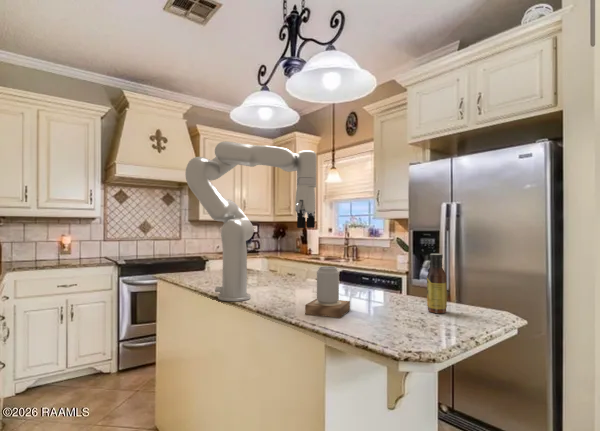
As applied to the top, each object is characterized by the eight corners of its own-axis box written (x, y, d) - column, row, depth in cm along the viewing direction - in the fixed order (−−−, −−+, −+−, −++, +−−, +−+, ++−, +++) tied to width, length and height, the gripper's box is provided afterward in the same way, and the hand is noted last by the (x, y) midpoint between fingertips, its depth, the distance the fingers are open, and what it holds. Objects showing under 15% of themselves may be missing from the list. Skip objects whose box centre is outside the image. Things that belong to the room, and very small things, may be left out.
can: (337, 305, 121) (337, 268, 121) (314, 304, 122) (315, 267, 123) (339, 300, 128) (339, 266, 128) (318, 299, 130) (318, 265, 130)
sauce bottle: (432, 309, 130) (432, 252, 131) (449, 312, 126) (449, 253, 126) (423, 312, 126) (423, 253, 126) (441, 315, 121) (441, 254, 122)
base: (305, 314, 122) (305, 304, 122) (317, 306, 133) (317, 297, 133) (340, 317, 117) (340, 307, 117) (349, 309, 128) (349, 300, 128)
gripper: (305, 185, 152) (305, 227, 151) (288, 181, 136) (287, 227, 135) (322, 185, 149) (322, 227, 148) (307, 180, 133) (306, 228, 132)
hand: (306, 227), depth 142 cm, fingers open, 9 cm apart
